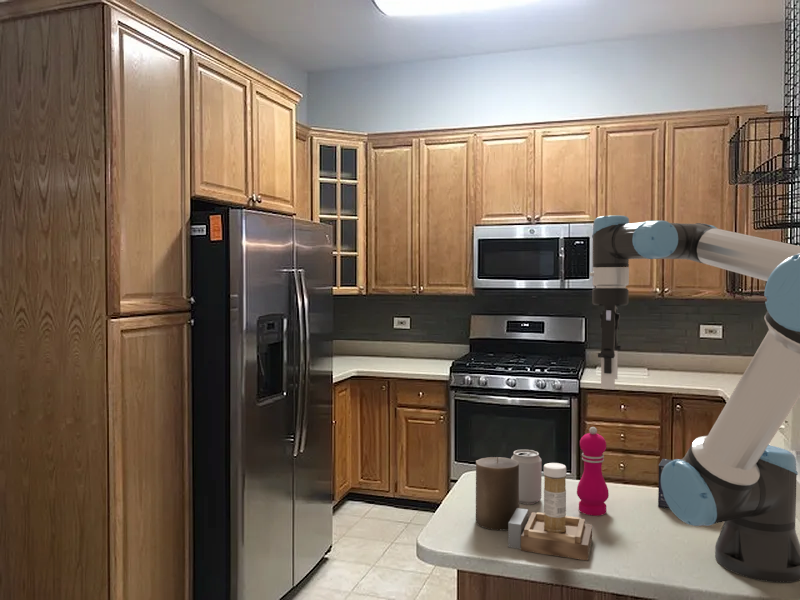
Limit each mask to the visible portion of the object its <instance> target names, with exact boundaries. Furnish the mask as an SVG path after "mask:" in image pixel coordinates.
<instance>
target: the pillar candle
mask: <svg viewBox="0 0 800 600" xmlns="http://www.w3.org/2000/svg"><path fill="white" fill-rule="evenodd" d="M517 508H520V503H519V463H518V462H517V461H515V460H513V459H511V458H508V457H500V456H499V457H498V456H496V457H495V456H494V457H493V456H490V457H482V458H479V459H477V460H475V523H476V524H477V525H478V526H480V527H482V528H485V529H487V530H491V531H492V530H493V531H506V530H508V523H509V521H510V519H511V517H512V516H513V514H514V512H515V510H516V509H517Z"/></svg>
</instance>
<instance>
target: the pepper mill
mask: <svg viewBox="0 0 800 600" xmlns="http://www.w3.org/2000/svg"><path fill="white" fill-rule="evenodd" d="M579 448H580V450H581V451H582V453H581V460H582V461H583V473H582V475H581V478H580V480H579V481H578V484H577V487H576V495H577V497H578V498H579V502H578V512H580V513H582V514H584V515H587V516H592V517H593V516H595V517H596V516H597V517H599V516H603V515H605V514H606V513H607V504H606V501H607V500H608V498H609V495H610V494H609V488H608V484H607V483H606V480H605V478H604V476H603V472H602V471H603V468H602V465H603V462H604V461H605V459H604V458H605V454H604V452H605V451H606V449H607V441H606V439H605V438H604V437H603V436H602V435H601V434H599V433H598V429H597V428H596V427H595V426H591V427H589V433H588V432H587V433H585V434H584V435H583V436H581V438H580V440H579Z"/></svg>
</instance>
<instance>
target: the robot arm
mask: <svg viewBox="0 0 800 600" xmlns="http://www.w3.org/2000/svg"><path fill="white" fill-rule="evenodd" d="M591 237H592V271H591V272H589V276H590V277H592V285H593V286H595V288H593V289H592V293H591V294H592V295H591V296H592V299H591V300H592V301H591V303H592V304H593V305H594V306H603V307H604V308H603V310H602V311H601V313H600V315H599V317H600V319H599V320H600V331H601V346H600V347H601V349H600V352H598V353H597V358H601V359H600V367H601V368H600V389H604V390H615V387H616V385H615V384H616V383H615V382H616V380H618V370H619V368H618V364H619V363H618V360H619V359H618V357H619V356H618V355H619V354H618V353H619V352H618V351H621V347H622V346H621V345H619V342H618V330H619V329H620V328H619V327H620V320H621V315H620V313H618V312H619V310H618V307H617V306H627V305H628V304H629V290H630V289H628V288H627V286H629V284H630V267H629V266H630V264H629V260H689V261H692V262H696V263H700V264H703V265H708V266H711V267H715V268H718V269H721V270H724V271H725V270H726V271H729V272H733V273H736V274H740V275H742V276H747V277H751V278H754V279H757V280H761V281H765V282H766V283H765V288H764V292H763V293H764V297H765V298H766V301H765V302H764V304H765V307H766V308H765V309H766V310H767V311H766V312H765V315H764V317H763V318H764V321H765V324H766V326H767V328H768V330H767V332H766V334H765V337H764V338H763V339H762V341H761V343H759V344H760V345H759V347H758V348H757V350H756V352H755V354H754V355H753V357H752V358H751V359H750V362H749V364H748V366H747V367H746V368H745V371H744V372H743V374H742V375H741V377H740V378H739V381H738V382H737V384H736V386H735V388H734V390H733V391H732V393H731V395H730V396H729V399H728V400H727V402H726V403H725V405H724V407H723V408H722V410H721V412H720V413H719V415H718V417H717V419H716V420H715V422H714V424H713V425H712V427H711V429H710V431H709V432H708V434H707V435H703V436H698V437H696V438H695V439H694V440H692V443H691V444H690V447H689V448H688V450H687V452H686V454H685V455H684V457H682V458H681V459H679V458H675V459H672V460H673V461H671V462H669V463H667V464H666V465H665V467H664V468H663V470H662V474H661V488H662V491H663V495H664V498H665V501H666V503H667V504H668V506H669V508H670V509H669V510H671V512H672V513H673V514H674V515H675V516H676V517H677V518H678V519H679V520H680V521H682V522H683V523H685V524H686V525H689V526H694V527H701V526H707V527H708V526H712V525H715V524H719V523H720V524H721V523H722V527H721V530H720V532H719V535H718V538H717V540H716V542H715V546H714V557H715V560H716V561H717V563H718V564H720V566H722V567H723V568H725V569H727V570H728V571H730V572H733V574H734V573H735V574H737V575H740V576H743V577H746V578H749V579H753V580H756V581H763V582H769V583H793V582H799V581H800V540H799V537H798V534H797V530H796V515H797V509H796V508H797V477H798V474H799V473H798V471H797V458H796V457H795V454H793V453H792V452H791V451H789V450H787V449H785V448H782V447H778V446H775V445H770V443H771V442H772V441H773V439H774V437H775V436H776V434H777V433H778V431H779V430H780V428H781V427H782V425H783V424H784V422H785V421H786V419H787V417H788V416H789V415H790V413H791V411H792V409H793V408H794V406H795V405H796V403H797V402H798V400H799V399H800V245H796V244H791V243H786V242H782V241H776V240H773V239H769V238H764V237H763V238H762V237H759V236H754V235H749V234H744V233H739V232H735V231H730V230H726V229H721V228H718V227H716V226H715V225H713V224H707V223H701V222H700V223H699V222H698V223H697V222H696V223H677V222H669V221H667V220H652V219H651V220H646V221H640V222H632V223H630V218H629V217H628V216H625V215H602V216H598V217H596V218H594V220H593V227H592V235H591Z"/></svg>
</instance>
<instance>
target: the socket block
mask: <svg viewBox="0 0 800 600" xmlns="http://www.w3.org/2000/svg"><path fill="white" fill-rule="evenodd" d="M585 521H586V519H585V518H581V517H579V516H578V517H577V516H569V515H566V516H565V526H566V531H565V532H562V533H553V532H548V531H546V530H545V529H544V512H534V511H533V512H531V514H530V515H529V517H528V522H527V524H526V526H525V528H524V531H523V533H522V535H521V549H520V551H522V552H530V553H533V554H534V553H535V554H542V555H549V556H553V557H554V556H555V557H562V558H568V559H574V560H582V561H589V556H590V553H591V545H592V542H593V524H589V523H588V524H587V523H586V522H585Z"/></svg>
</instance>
